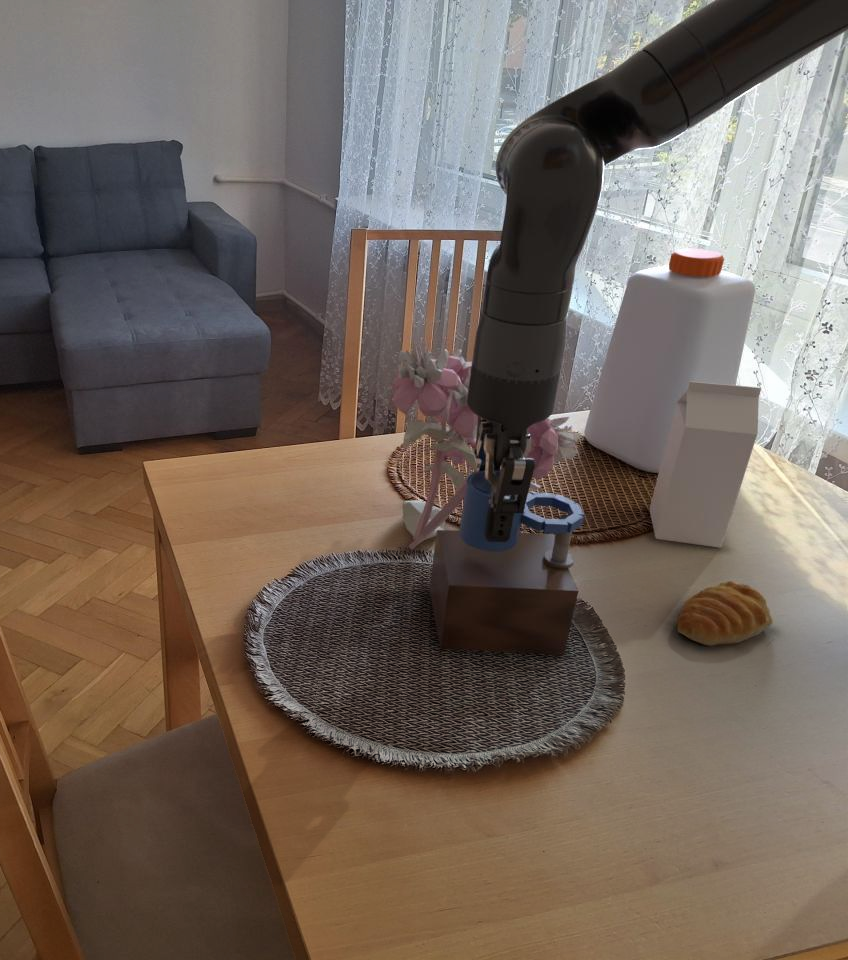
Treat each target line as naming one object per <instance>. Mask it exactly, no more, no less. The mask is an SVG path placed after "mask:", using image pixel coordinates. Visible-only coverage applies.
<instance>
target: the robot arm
mask: <svg viewBox="0 0 848 960" xmlns="http://www.w3.org/2000/svg"><path fill="white" fill-rule="evenodd" d="M847 31H848V0H713V1H711V2H710V3H708V4H707V5H705V6H703V7H701V8H700V9H699V10H697V11H695V12H694V13H692V14H690V15H689V16H687V17H685V19H683V20H682V21H680V22H678V23H677V24H676V25H674V26H672V27H671V28H670V29H668V30H667V31H665V32H664V33H663V34H661V35H659V36H658V37H656V38H655V39H654V40H652V41H651V42H649V43H648V44H647V45H645V46H643V47H642V48H640V50H638V51H636V52H635V53H634V54H632V55H631V56H629V57H628V58H627V59H626V60H625V61H623V62H622V63H620V64H619V65H618V66H616V67H615V68H614V69H611V70H610V71H608V72H607V73H605V74H603V75H601V76H600V77H598V78H596V79H593V80H592V81H589V82H587V83H586V84H583V85H582V86H580V87H578V88H576V89H575V90H573V91H571V92H569V93H567V94H565V95H564V96H561V97H560V98H557V99H556V100H554V101H552V102H550V103H549V104H547V105H545V106H543V108H541V109H539V110H538V111H535V113H533V114H531V115H530V116H529V117H527V118H526V119H524V120H523V121H522V122H521V123H520V124H518V125H517V126H516V127H514V129H513V130H511V132H509V134H508V135H507V136H506V137H505V139H504V140H503V142H502V143H501V146H500V148H499V150H498V152H497V154H496V159H495V176H496V179H497V183H498V185H499V186H500V187H499V188H501V190H502V192H504V193H505V196H506V201H505V209H504V210H505V211H504V215H503V216H504V217H503V223H502V228H501V235H500V243H499V245H497V246H496V247H495V249H493V252H492V254H491V256H490V259H489V262H488V266H487V272H486V278H485V285H484V292H483V301H482V308H481V313H480V317H479V321H478V325H477V328H476V331H475V337H474V345H473V353H472V359H471V361H472V367H471V374H470V382H469V389H468V397H467V404H468V407H469V409H470V410H471V411H472V412H473V413H474V414H476V415H477V416H478V426H477V436H476V439H475V440H476V446H475V450H474V449H473V451H474V455H475V458H476V459H478V461H477V460H476V462H477V463H476V468H477V471H483V470H485V480H486V481H487V482H488V483H489V484H490V495H489V500H488V504H489V508H488V515H487V521H486V528H485V537H486V540H487V541H490V542H507V541H508V540H509V539H510V534H511V528H512V522H513V517H514V513H521V514H522V513H523V511H524V509H525V503H526V499H527V495H528V491H529V490H530V489H529V487H530V483H531V482H532V479H533V478H532V475H533V471H534V468H535V463H534V459H532V458H527V455H528V454H529V452H530V450H531V436H530V435H527V429H528V427H530V426H531V425H533V424H535V423H538V422H542V421H544V420H546V419H549V418H550V417H551V416H552V414H553V412H554V408H555V402H556V397H557V392H558V386H559V382H560V375H561V371H562V364H563V360H564V353H565V350H566V343H567V324H568V316H569V310H570V306H571V305H570V304H571V301H572V294H573V289H574V283H575V276H576V266H577V263H578V260H579V257H580V256H581V253H582V252H583V249H584V246H585V244H586V241H587V238H588V235H589V233H590V230H591V227H592V224H593V222H594V219H595V216H596V212H597V210H598V206H599V203H600V200H601V195H602V189H603V183H604V174H605V173H604V172H605V167H606V166H608V165H609V164H612V163H613V162H615V161H616V160H618V159H619V158H622V157H623V156H626V155H627V154H629V153H631V152H634V151H637V150H646V149H647V150H648V149H653V148H657V147H660V146H662V145H664V144H666V143H668V142H670V141H672V140H674V139H676V138H678V137H679V136H681V135H683V133H686V132H687V131H689V130H691V128H693V127H695V126H696V125H698V124H699V123H701V122H703V121H705V120H706V119H708V118H709V117H711V116H712V115H714V114H715V113H717V112H718V111H720V110H722V109H723V108H725V107H726V106H728V105H729V104H731V103H733V102H734V101H736V100H737V99H739V98H740V97H742V96H743V95H745V94H746V93H748V92H750V91H751V90H753V89H754V88H756V87H757V86H759V85H760V84H762V83H763V82H765V81H767V80H768V79H770V78H772V77H773V76H775V75H776V74H778V73H780V72H781V71H783V70H784V69H786V68H788V67H789V66H791V65H792V64H794V63H795V62H797V61H799V60H800V59H802V58H804V57H805V56H807V55H809V54H810V53H812V52H814V51H815V50H817V49H818V48H820V47H822V46H824V45H825V44H827V43H829V42H830V41H832V40H834V39H836V38H837V37H839V36H840V35H842V34H843V33H845V32H847ZM494 470H496V471H500V475H496V474H495V473H494ZM530 488H531V487H530ZM507 494H511V496H505V495H507Z"/></svg>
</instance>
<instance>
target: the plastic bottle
mask: <svg viewBox="0 0 848 960" xmlns="http://www.w3.org/2000/svg"><path fill="white" fill-rule="evenodd" d="M724 263H725V257H724V255H723V254H722V253H721V252H718V251H716V250H711V249H706V248H700V247H699V248H696V247H684V248H679V249H676V250H674V251H672V253H671V254H670V259H669V263H668V264H667V265H660V266H655V267H651V268H646V269H642V270H639V271H638V270H637V271H636V272H634V273H633V274H631V275H630V277H629V278H628V280H627V283H626V287H625V290H624V292H623V297H622V299H621V302H620V307H619V310H618V314H617V317H616V320H615V324H614V327H613V331H612V335H611V337H610V340H609V344H608V348H607V351H606V355H605V359H604V361H603V364H602V367H601V371H600V375H599V379H598V382H597V385H596V386H597V387H596V389H595V392H594V396H593V399H592V402H591V406H590V409H589V413H588V417H587V421H586V423H585V426H584V431H583V434H584V438H585V439H586V441H587V442H588V443H589V444H590V445H591V446H592V447H594V448H596V449H598V450H600V451H602V452H604V453H605V454H608V455H609V456H612V457H614V458H615V459H617V460H619V461H621V462H623V463H625V464H627V465H629V466H631V467H633V468H635V469H636V470H637V469H638V470H640V471H643V472H647V473H652V474H653V473H654V474H659V470H660V466H661V463H662V459H663V455H664V451H665V447H666V443H667V440H668V436H669V432H670V428H671V424H672V420H673V417H674V413H675V409H676V405H677V402H678V400H679V399H680V398H681V397H682V396H683V394H684V393H685V392H686V391H687V389H688V385H689V382H690V381H693V382H704V383H715V384H726V385H737V381H738V376H739V371H740V367H741V362H742V358H743V351H744V348H745V343H746V338H747V332H748V328H749V322H750V319H751V314H752V308H753V304H754V299H755V295H756V286H755V283H754V282H753V281H752V280H750V279H748V278H747V277H744V276H741V275H737V274H735V273H732V272H728V271H724V270H722V269H723V265H724Z"/></svg>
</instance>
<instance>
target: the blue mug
mask: <svg viewBox="0 0 848 960" xmlns="http://www.w3.org/2000/svg"><path fill="white" fill-rule="evenodd" d="M494 473H495V474H496V475H500V471H496V470H494ZM489 495H490V484H489V483H488V482H487V481H486V480H485V470H483V471H478V472H475V473H473V472H472V473H470V475H469V476H468V478H467V480H466V487H465V494H464V499H463V500H462V501H463V502H462V509H461V516H460V524H459V530H458V531H459V534H460V537H461V539H462V540H463V541H464V542H465V543H467V544H468V545H470V546H472V547H474V548H477V549H480V550H484V551H491V552H499V551H506V550H509V549H511V548H513V547H514V546H515V545H516V544H517V542H518V538H519V533H521V527H522V525H524V526H525V527H528V528H531V529H533V530H535V531H537V532H541V531H542V532H543V534H556V533H563V534H566V533H567V532H569V533H571V532H572V533H573V532H574V531H575V530H577V529H578V528H580V527H581V526H583V523H584V519H585V513H584V511H583V509H582V507H581V505H580V504H579V503H577V502H576V500H573V499H571V498H568V497H565V496H563V495H561V494H559V493H557V494H554V493H553V492H536V493H532V494H529V493H528V495H527V499H526V503H525V509H524V511H523V513H522V514H521V513H514V517H513V522H512V528H511V534H510V539H509V540H508V541H507V542H490V541H487V540H486V537H485V528H486V521H487V515H488V508H489V504H488V500H489ZM505 496H511V494H507V495H505ZM534 506H535V507H553V508H555V509H557V510H560V511H562V512H564V513H566V515H568V516H569V517H567V518H565V519H559V518H544V517H542V516H540V515H537V514H535V513H533V512H531V511H530V510H531V508H533V507H534Z"/></svg>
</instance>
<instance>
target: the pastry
mask: <svg viewBox="0 0 848 960" xmlns="http://www.w3.org/2000/svg"><path fill="white" fill-rule="evenodd" d="M681 610H682V611H681V613H680V614H679V615H678V617H677V632H678V633H679V634H682V635H684V636H685V637H686V638H688V639H689V640H692V641H694V642H697V643H699V644H702V645H704V646H710V647H713V646H719V645H736V644H740V643H741V642H744V641H746V640H749V639H751V638H753V637H756V636H757V635H760V634H762V632H763V631H765V630H767V629H768V628H770V627H771V626H772V625H773V621H774V620H773V617H772V616H771V613H770V612H771V610H770V608H769V607H768V605H767V599H766V598H765V597H764V596H763V594H761V593H760V592H759V591H758V590H756V589H755V588H754V587H751V586H750V585H748V584H745V583H736V582H734V581H731V580H729V581H727V582H720V583H719V584H718V585H715V586H710V587H707V588H704V589H703V590H700V591H699V592H697V593H696V594H694V595H693V596H691V597H690V598H689V599H688V600H687V601H686V603H685V605H684V606H683V608H682V609H681Z"/></svg>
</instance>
